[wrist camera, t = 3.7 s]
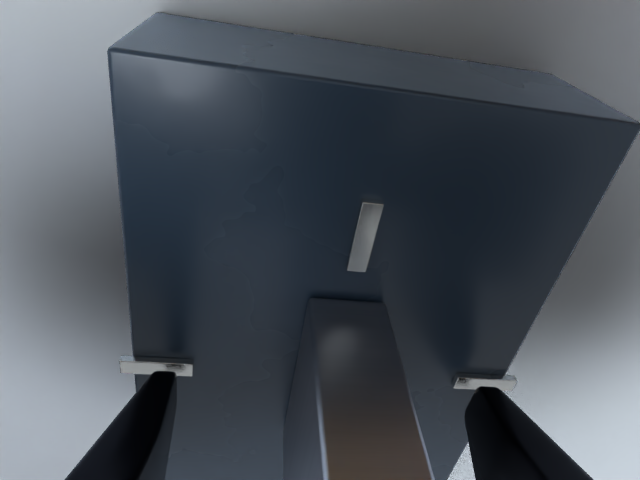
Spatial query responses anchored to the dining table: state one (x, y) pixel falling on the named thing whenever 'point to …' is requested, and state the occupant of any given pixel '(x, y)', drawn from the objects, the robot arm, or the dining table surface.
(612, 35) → the dining table surface
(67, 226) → the dining table surface
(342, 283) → the hob control
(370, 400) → the hob knob
